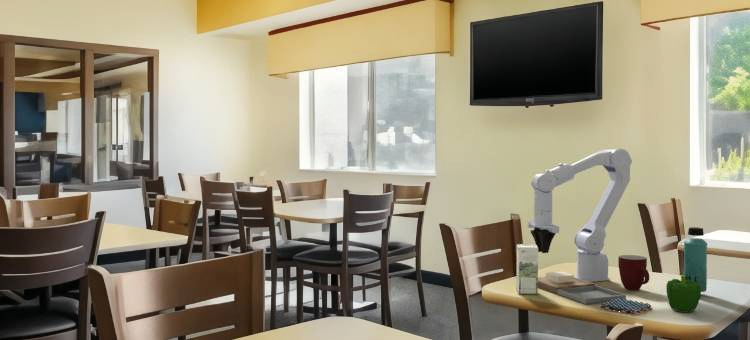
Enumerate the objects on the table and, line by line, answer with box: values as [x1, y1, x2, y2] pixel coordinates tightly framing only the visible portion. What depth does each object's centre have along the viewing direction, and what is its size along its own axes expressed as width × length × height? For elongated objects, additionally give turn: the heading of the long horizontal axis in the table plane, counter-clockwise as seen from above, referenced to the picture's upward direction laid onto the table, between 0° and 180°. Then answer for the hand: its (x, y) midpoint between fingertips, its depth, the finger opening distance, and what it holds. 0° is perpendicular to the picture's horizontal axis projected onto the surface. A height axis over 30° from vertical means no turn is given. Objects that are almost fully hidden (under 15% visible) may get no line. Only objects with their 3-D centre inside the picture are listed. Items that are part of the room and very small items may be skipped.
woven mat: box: [599, 298, 653, 316], centre depth 180 cm, size 10×11×2 cm
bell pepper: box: [666, 274, 702, 313], centre depth 178 cm, size 8×8×10 cm
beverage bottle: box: [682, 226, 708, 293], centre depth 195 cm, size 6×7×20 cm
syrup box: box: [515, 243, 539, 296], centre depth 199 cm, size 6×6×14 cm
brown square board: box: [538, 276, 596, 295], centre depth 206 cm, size 14×14×2 cm
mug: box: [618, 254, 650, 292], centre depth 201 cm, size 10×8×10 cm
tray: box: [556, 284, 627, 305], centre depth 193 cm, size 14×13×2 cm
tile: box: [545, 271, 575, 283], centre depth 207 cm, size 6×6×2 cm
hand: (542, 252), depth 215 cm, fingers closed
